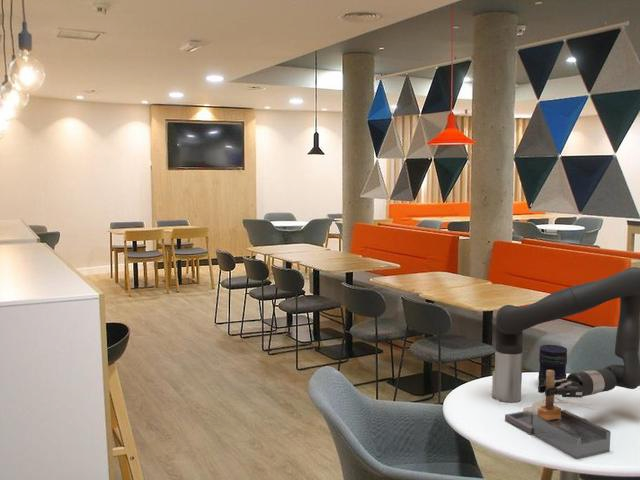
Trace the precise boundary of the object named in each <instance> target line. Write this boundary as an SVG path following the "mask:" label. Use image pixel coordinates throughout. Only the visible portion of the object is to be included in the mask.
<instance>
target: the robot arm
mask: <svg viewBox="0 0 640 480" xmlns="http://www.w3.org/2000/svg"><path fill="white" fill-rule="evenodd" d="M616 299H619V302H620V303H619V315H618V324H617V329H616V336H615V344H614V345H615V347H614V354H615V356H616V357H617V358H620V359H622V361H623V365H621V364H611V365H607V366H606V367H603V368H601V369H595V370H584V371H577V372H573V373H570V374H568V375H567V376H566V379H560V380H555V379H554V387H553V388H547V389H546V381H545V385H540V386H538V387H537V393H539V394H545V396H552V395H554V396H561V397H562V398H583V397H588V396H593V395H597V394H599V393H604V392H609V391H612V390H613V389H615V387H620V388H624V389H629V390H635V389H637V388H639V386H640V357H639V351H640V267H637V266H631V267H627V268H626V269H624V270H622V271H619V272H616V273H615V274H613V275H611V276H608V277H605V278H602V279H599V280H598V279H597V280H595V281H594V280H593V281H589V282H583V283H580V284H576V285H573V286H570V287H569V286H568V287H565V288H563V289H560V290H557V291H555V292H552V293H550V294H548V295H546V296H545V297H543V298H541V299H540V300H538V301H536V302H533V303H531V304H530V303H529V304H527V305H524V306H519V307H517V306H515V305H512V304H505V305H502V306H501V307H500V308H499V309H498V310H497V312H496V315H495V339H494V340H495V342H494V344H495V346H494V349H495V354H494V370H493V371H492V384H491V386H492V387H491V389H492V390H491V398H494V399H496V400H498V401H500V402H505V403H506V402H507V403H516V402H520V401H521V400H522V381H523V380H522V379H523V378H522V377H523V375H522V374H523V347H524V345H523V344H524V342H523V338H524V337H523V335H524V334H523V332H524V331H525V330H529V329H530V328H533V327H535V326H537V325H538V326H539V325H541V324H544V323H548V322H552V321H556V320H559V319H560V320H561V319H563V318H567V317H570V316H574V315H577V314H581V313H583V312H586V311H589V310H591V309H594V308H595V307H599V306H600V305H602V304H604V303H606V302H610V301H612V300H616Z"/></svg>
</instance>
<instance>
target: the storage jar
mask: <svg viewBox="0 0 640 480" xmlns="http://www.w3.org/2000/svg"><path fill="white" fill-rule="evenodd" d="M538 355H539V356H538V357H539V359H538V361H539V370H538V377H537V378H538V386H540V385H545V381H546V370H554V371H555V378H554V379H555V380H560V379H566V378H567V373H566V371H567V369H566V368H567V364H568V349H567V347H565V346H563V345H562V346H561V345H557V344H543V345H540V346H539V354H538Z"/></svg>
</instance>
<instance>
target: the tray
mask: <svg viewBox="0 0 640 480" xmlns="http://www.w3.org/2000/svg"><path fill="white" fill-rule="evenodd" d="M504 421H505V422H507V423H508V424H510V425H512V426H513V427H515V428H517V429H519V430H520V431H521V430H522V431H523V432H525V433H526V434H527V435H532V426H533V424H530V423H528V422H526V421H524V420H523V410H522V411H518V412H512V413H508V414H505V415H504Z"/></svg>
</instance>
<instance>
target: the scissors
mask: <svg viewBox="0 0 640 480" xmlns="http://www.w3.org/2000/svg"><path fill="white" fill-rule="evenodd" d="M542 396H543V397H544V398H546V395H545V393H542ZM555 399H556V400H557V401H554V404H560V403H561V404H569V405H573V406H578V407H582V408H587V409H592V410H593V408H591V407H588V406H591V404H589V403H580V402H573V401H568V400H564V399H560V398H559V397H555V396H554V400H555ZM539 401H544V402H546V399H540V400H539ZM533 402H537V401H536V400H535V401H534V400H533ZM583 405H584V406H583ZM595 406H598V405H596V404H595ZM594 410H597V409H595V408H594Z"/></svg>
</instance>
